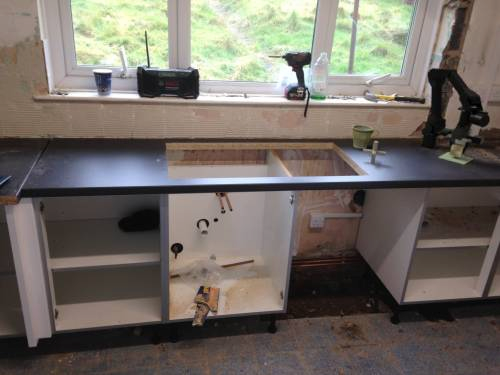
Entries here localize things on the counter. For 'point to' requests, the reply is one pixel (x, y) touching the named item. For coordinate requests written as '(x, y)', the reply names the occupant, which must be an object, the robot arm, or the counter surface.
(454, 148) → the beech block
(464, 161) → the sage mat
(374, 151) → the pipe connector
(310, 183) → the counter surface
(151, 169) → the counter surface
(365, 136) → the ceramic cup
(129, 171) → the counter surface
